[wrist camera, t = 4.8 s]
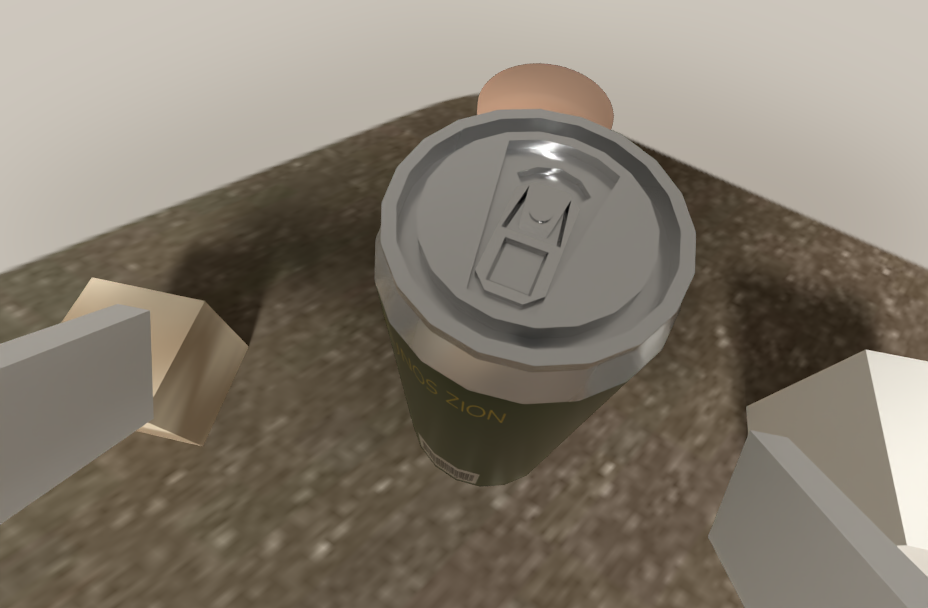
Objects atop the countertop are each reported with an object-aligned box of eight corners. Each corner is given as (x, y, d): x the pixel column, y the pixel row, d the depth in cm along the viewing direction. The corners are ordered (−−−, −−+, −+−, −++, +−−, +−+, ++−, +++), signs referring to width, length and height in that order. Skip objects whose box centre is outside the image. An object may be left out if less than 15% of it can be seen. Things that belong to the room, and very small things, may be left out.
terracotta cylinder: (593, 236, 22) (639, 137, 17) (495, 268, 21) (512, 174, 16) (545, 161, 24) (572, 52, 19) (454, 188, 23) (457, 80, 18)
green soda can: (526, 515, 16) (674, 451, 6) (388, 451, 17) (294, 293, 7) (572, 379, 19) (735, 156, 8) (448, 329, 20) (450, 67, 9)
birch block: (204, 446, 17) (141, 419, 14) (102, 423, 17) (15, 391, 14) (249, 347, 19) (204, 300, 15) (157, 327, 19) (92, 277, 16)
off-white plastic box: (936, 587, 16) (1184, 605, 11) (756, 547, 16) (907, 545, 11) (903, 439, 18) (1092, 393, 13) (745, 406, 19) (865, 349, 13)
